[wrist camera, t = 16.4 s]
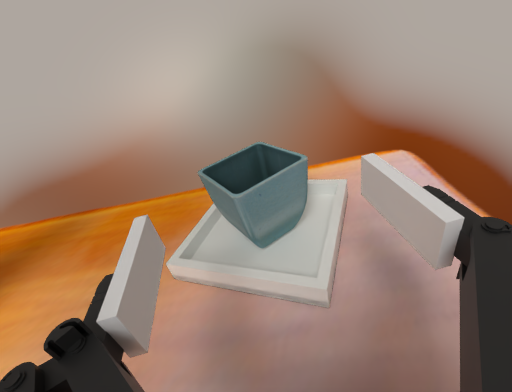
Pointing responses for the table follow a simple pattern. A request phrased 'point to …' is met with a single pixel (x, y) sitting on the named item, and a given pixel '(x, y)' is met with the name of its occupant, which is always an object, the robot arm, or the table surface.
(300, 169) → the flower pot
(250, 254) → the tray
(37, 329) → the table surface
